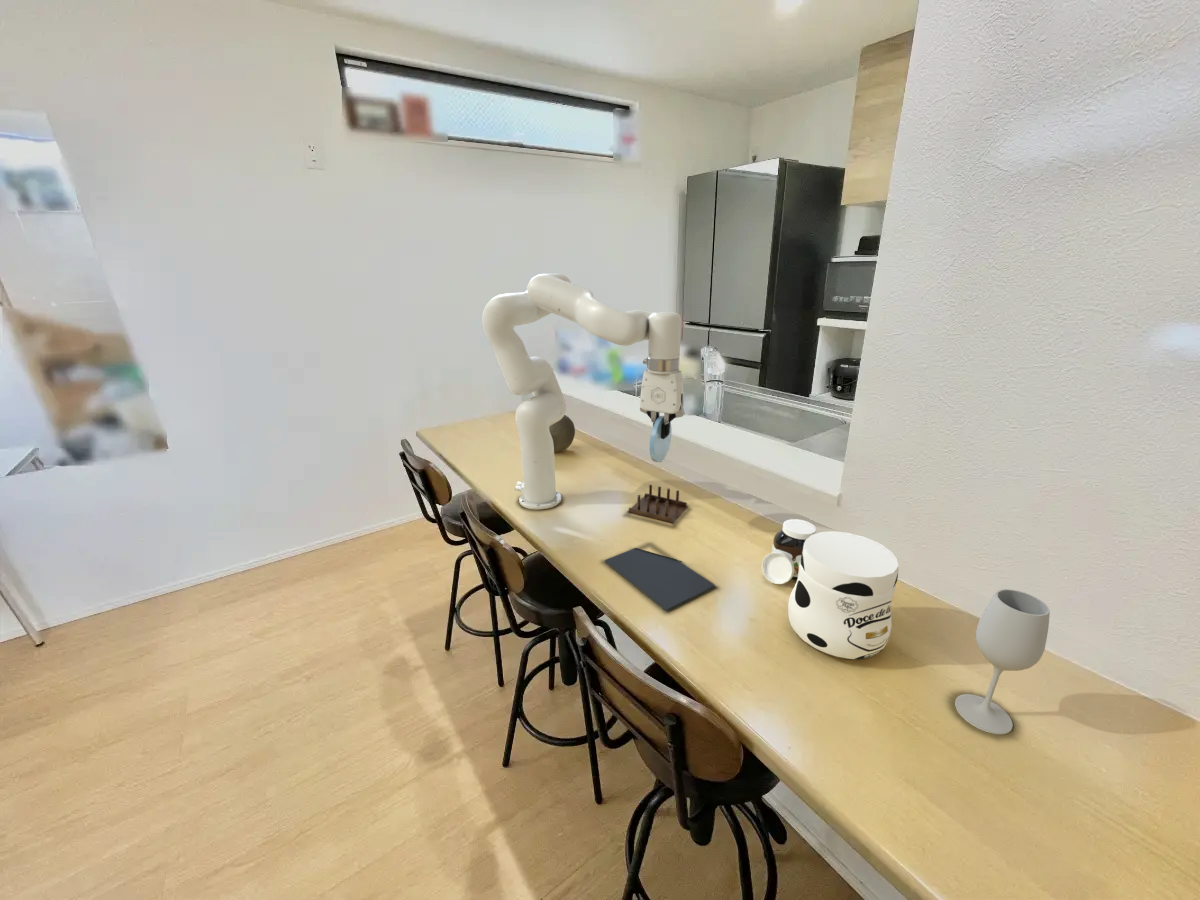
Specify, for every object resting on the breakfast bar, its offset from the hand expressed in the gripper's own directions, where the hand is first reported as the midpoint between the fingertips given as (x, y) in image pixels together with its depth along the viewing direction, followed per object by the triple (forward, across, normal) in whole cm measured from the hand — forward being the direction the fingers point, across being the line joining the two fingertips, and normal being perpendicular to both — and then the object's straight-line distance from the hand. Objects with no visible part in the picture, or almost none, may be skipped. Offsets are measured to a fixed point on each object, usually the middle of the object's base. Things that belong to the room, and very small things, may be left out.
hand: (661, 436), depth 125 cm
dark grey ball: (+25, -55, +34) cm, 70 cm away
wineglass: (+25, +68, -33) cm, 79 cm away
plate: (+7, 0, 0) cm, 7 cm away
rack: (+25, -3, +6) cm, 26 cm away
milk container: (+25, +46, -25) cm, 58 cm away
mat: (+25, +9, -22) cm, 34 cm away
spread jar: (+25, +35, -8) cm, 44 cm away
